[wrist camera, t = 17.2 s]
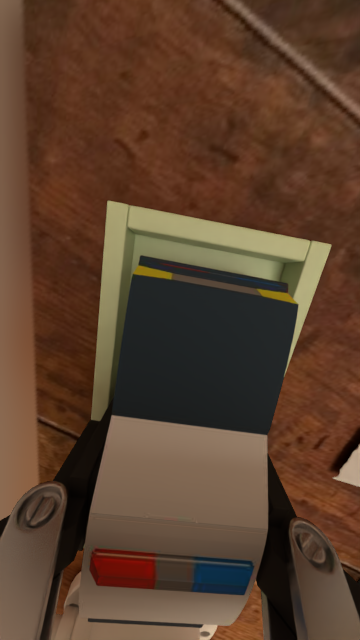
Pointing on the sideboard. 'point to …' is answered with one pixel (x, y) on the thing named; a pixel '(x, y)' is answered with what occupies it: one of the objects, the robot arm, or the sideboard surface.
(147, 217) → the shallow tray
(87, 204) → the sideboard surface
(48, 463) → the sideboard surface
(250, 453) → the toy car
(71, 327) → the sideboard surface
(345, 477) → the picture frame
